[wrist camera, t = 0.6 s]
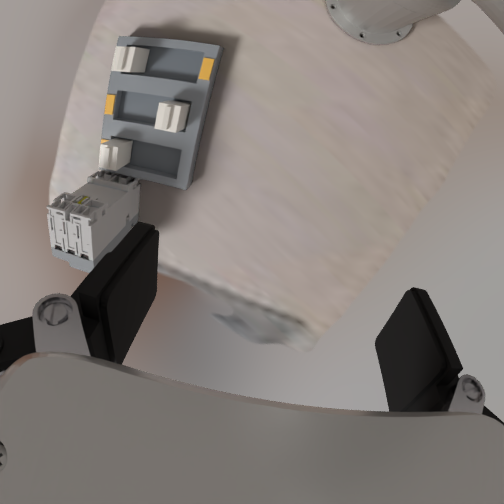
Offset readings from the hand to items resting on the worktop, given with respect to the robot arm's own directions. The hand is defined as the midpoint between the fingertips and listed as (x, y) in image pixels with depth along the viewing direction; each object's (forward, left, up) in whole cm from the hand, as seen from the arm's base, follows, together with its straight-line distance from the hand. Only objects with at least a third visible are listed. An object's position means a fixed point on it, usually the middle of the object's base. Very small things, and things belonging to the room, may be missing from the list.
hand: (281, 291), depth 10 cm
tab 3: (0, -15, -32) cm, 35 cm away
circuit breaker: (+19, -23, -34) cm, 45 cm away
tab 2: (+7, -23, -32) cm, 40 cm away
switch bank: (0, -19, -34) cm, 38 cm away
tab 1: (-7, -23, -32) cm, 40 cm away
